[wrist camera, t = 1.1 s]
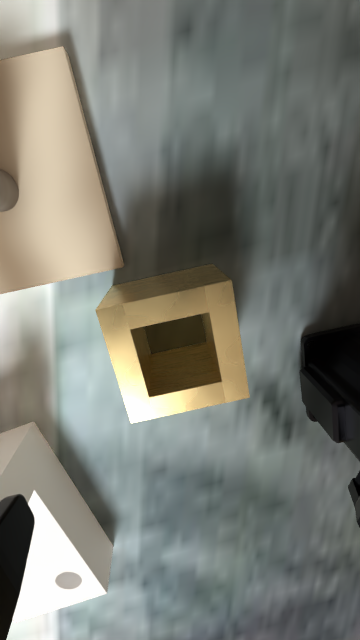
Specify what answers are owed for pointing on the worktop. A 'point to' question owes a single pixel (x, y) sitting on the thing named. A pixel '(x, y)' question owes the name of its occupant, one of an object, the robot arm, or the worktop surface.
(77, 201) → the post board
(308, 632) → the worktop surface
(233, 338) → the brass collar
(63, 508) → the bracket
